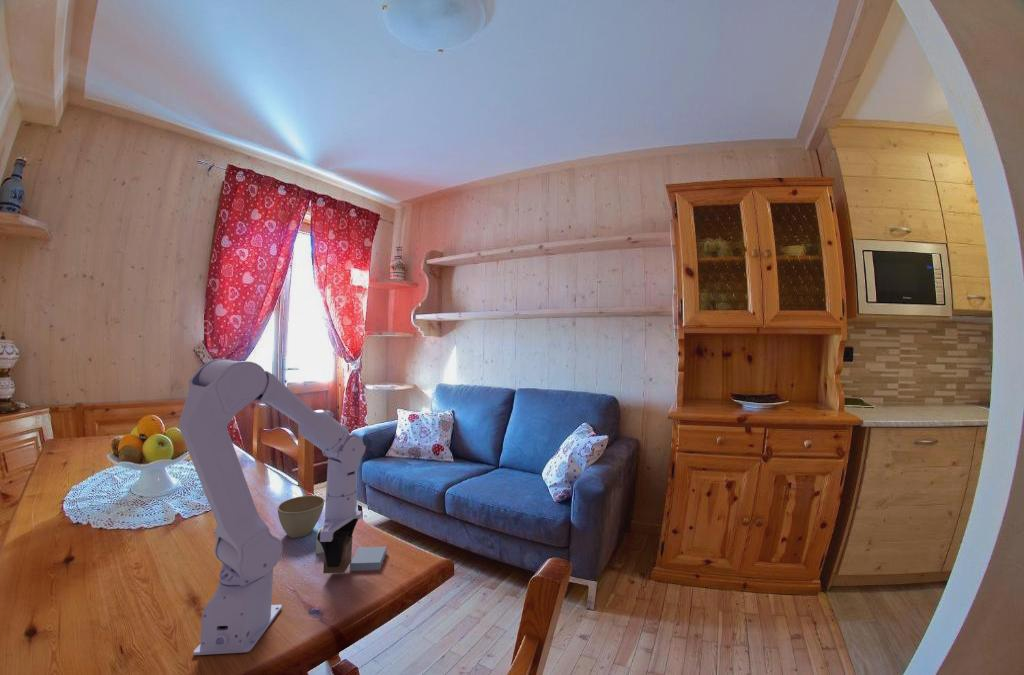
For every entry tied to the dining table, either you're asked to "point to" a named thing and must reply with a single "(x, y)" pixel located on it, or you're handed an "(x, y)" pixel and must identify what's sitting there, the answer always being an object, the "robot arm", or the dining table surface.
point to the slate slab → (368, 558)
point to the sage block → (319, 545)
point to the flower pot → (300, 515)
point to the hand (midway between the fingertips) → (337, 559)
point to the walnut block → (344, 560)
